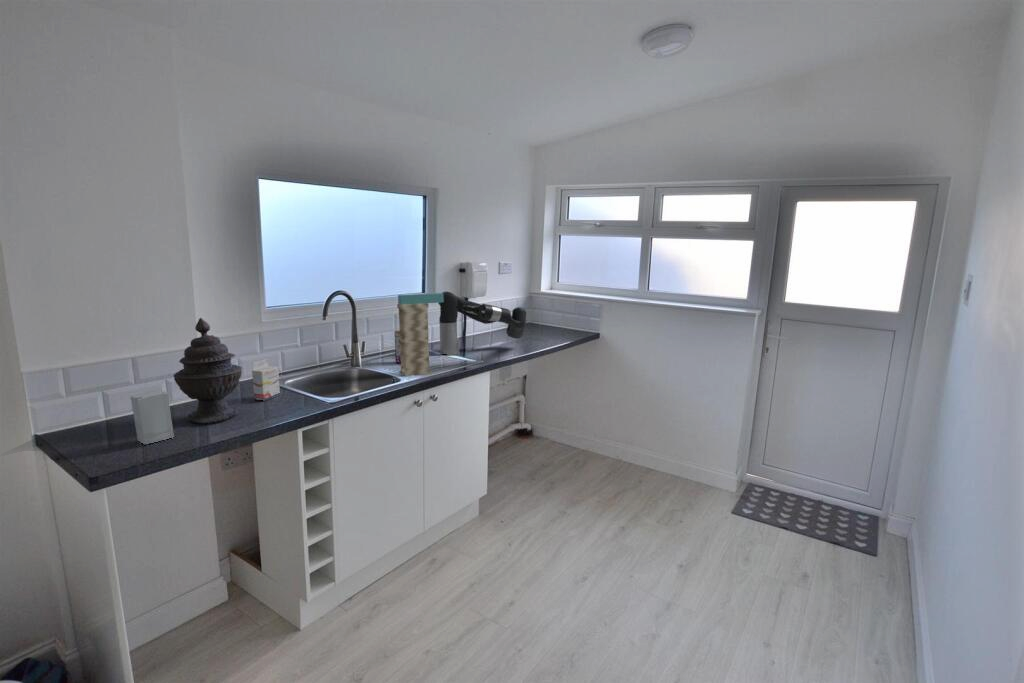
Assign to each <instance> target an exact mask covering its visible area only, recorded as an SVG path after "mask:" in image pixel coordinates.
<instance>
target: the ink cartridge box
mask: <svg viewBox="0 0 1024 683" xmlns="http://www.w3.org/2000/svg"><path fill="white" fill-rule="evenodd" d="M269 361H270V360H269V358H266V359H262V360H258V361H254V362H252V364H251V365H252V366H251V367H252V368H251V369H252V371H251V374H252V375H251V376H252V384H253V385H252V386H253V389H252V390H253V398H254V397H255V398H261V399H264V398H268V397H270V396H273V395H275V394H278V393H280V394H281V389H280V388H281V387H280V376H279V374H280V373H279V366H270V365H269V364H270V363H269ZM260 364H261V365H260Z"/></svg>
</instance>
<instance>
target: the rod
mask: <svg viewBox="0 0 1024 683" xmlns="http://www.w3.org/2000/svg"><path fill="white" fill-rule="evenodd" d="M397 301H398V303H397V304H400V305H408V304H424V303H428V304H439V303H441V302H444V295H443V293H442V292H432V293H431V292H430V293H412V294H410V293H409V294H397Z"/></svg>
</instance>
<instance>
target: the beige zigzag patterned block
mask: <svg viewBox="0 0 1024 683" xmlns="http://www.w3.org/2000/svg"><path fill="white" fill-rule="evenodd" d="M396 304H397V305H396V306H397V309H398V323H399V324H398V325H399V326H398V327H399V328H398V329H399V330H400V354H401V363H400V369H399V371H400V372H399V374H400V373H401V375H402V374H403V375H402V376H403V377H405V376H406V377H413V376H412V375H414V376H420V375H419V374H421V375H427V374H428V373H429V374H431V373H432V372H431V369H430V349H429V348H430V347H429V345H430V344H429V320H428V319H429V314H428V309H429V303H424V304H408V305H400V304H398V303H396Z"/></svg>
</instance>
